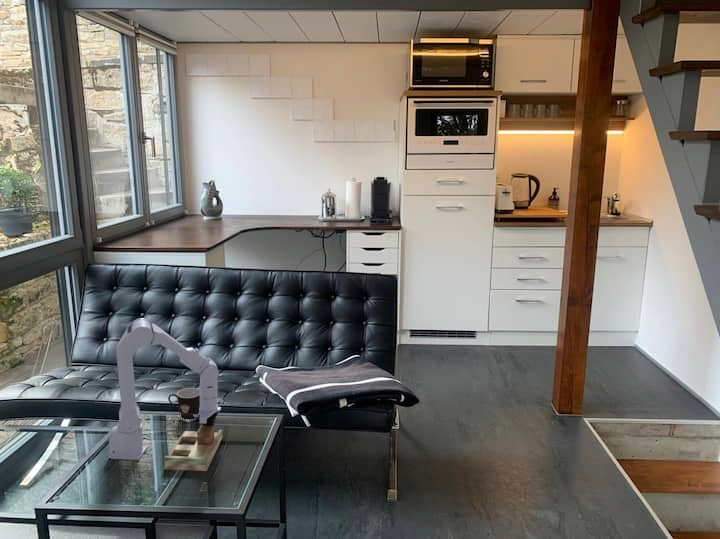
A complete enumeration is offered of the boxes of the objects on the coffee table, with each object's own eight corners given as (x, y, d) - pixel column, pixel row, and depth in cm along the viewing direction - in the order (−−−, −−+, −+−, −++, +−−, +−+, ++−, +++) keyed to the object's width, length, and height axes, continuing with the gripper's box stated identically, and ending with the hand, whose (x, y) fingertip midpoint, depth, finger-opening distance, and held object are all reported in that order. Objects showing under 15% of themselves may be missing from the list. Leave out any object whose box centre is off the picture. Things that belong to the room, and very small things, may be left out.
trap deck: (164, 469, 167) (164, 457, 166) (184, 436, 187) (184, 425, 186) (206, 470, 167) (206, 459, 167) (222, 438, 187) (222, 427, 186)
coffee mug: (206, 417, 201) (206, 392, 199) (188, 426, 194) (187, 400, 192) (185, 408, 207) (185, 383, 205) (166, 416, 200) (166, 391, 198)
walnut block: (197, 444, 178) (197, 432, 177) (200, 437, 183) (200, 425, 182) (210, 445, 178) (210, 432, 177) (214, 438, 183) (214, 425, 182)
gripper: (215, 406, 174) (215, 444, 177) (225, 387, 188) (225, 423, 191) (193, 405, 174) (193, 443, 177) (205, 386, 188) (205, 422, 191)
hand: (208, 432), depth 184 cm, fingers closed
